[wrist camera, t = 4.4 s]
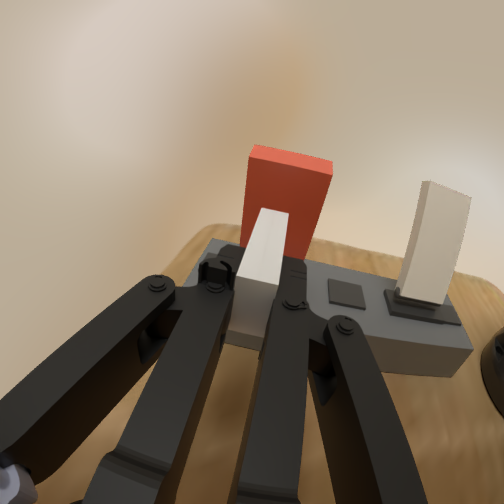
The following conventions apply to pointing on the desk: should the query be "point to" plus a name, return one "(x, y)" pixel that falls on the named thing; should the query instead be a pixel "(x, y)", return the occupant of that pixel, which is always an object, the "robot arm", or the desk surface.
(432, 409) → the desk surface
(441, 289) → the white rocker
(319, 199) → the red upright block
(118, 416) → the desk surface
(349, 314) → the grey slotted base
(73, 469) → the desk surface
